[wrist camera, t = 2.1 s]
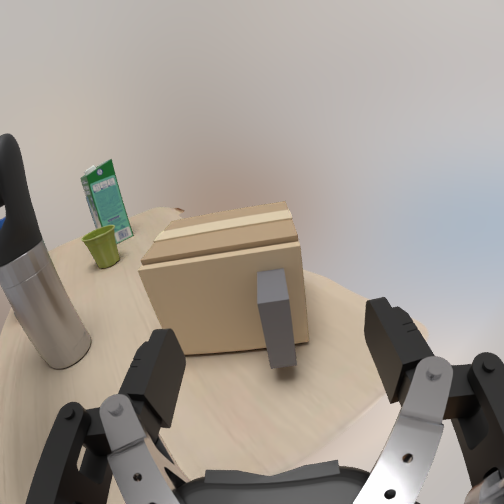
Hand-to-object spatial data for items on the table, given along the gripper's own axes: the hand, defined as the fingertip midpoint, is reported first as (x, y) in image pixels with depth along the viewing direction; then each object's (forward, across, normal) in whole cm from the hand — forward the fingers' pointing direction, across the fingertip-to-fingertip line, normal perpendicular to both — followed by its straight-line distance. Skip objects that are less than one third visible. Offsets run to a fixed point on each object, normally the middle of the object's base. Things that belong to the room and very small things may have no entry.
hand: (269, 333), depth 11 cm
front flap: (+12, +5, +15) cm, 20 cm away
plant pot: (+48, +41, +15) cm, 65 cm away
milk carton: (+66, +48, +15) cm, 83 cm away
